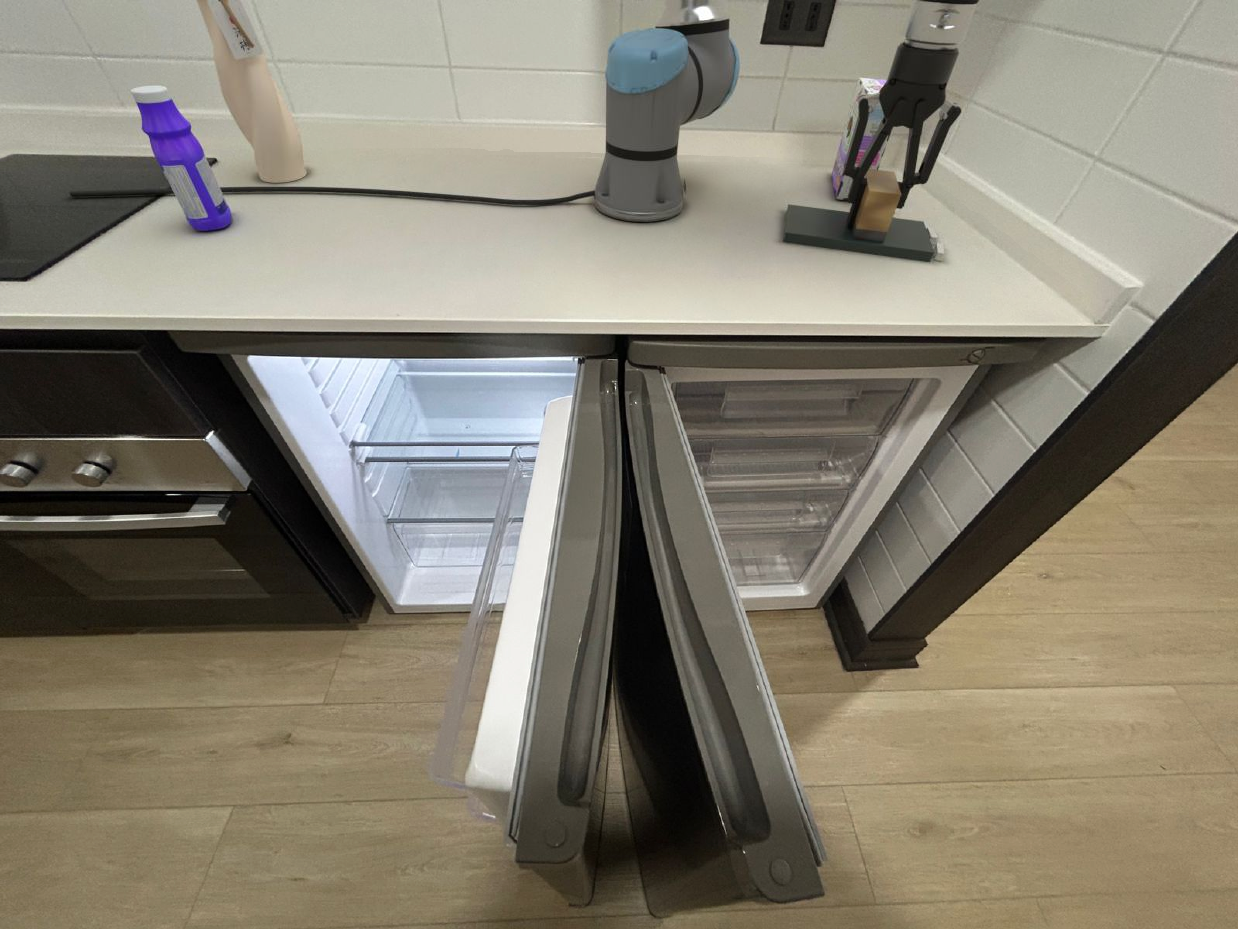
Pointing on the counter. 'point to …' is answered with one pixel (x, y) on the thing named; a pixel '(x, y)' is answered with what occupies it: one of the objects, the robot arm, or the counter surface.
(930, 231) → the chalk
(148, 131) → the bottle
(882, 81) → the candy box
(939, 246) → the chalk
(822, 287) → the counter surface
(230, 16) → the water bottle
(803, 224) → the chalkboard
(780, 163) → the counter surface
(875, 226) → the eraser
